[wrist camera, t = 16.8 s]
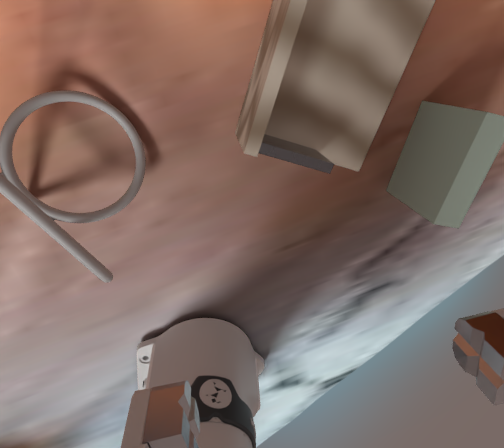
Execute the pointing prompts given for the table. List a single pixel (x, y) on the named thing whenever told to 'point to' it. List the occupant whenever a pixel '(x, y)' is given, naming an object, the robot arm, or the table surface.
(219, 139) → the table surface
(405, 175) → the grey flat block
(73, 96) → the wire frame
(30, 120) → the table surface
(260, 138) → the shelf
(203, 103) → the table surface
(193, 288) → the table surface
